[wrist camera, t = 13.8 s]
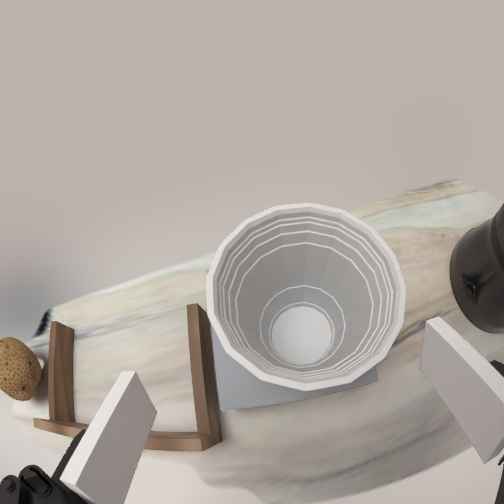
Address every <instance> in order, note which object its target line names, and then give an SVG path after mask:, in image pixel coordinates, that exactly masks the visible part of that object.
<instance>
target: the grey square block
mask: <svg viewBox="0 0 504 504" xmlns="http://www.w3.org/2000/svg"><path fill="white" fill-rule="evenodd" d="M208 272H209V270H207V274H208ZM211 331H212V342H213V352H214V361H215V371H216V380H217V388H218V397H219V405H220V411H222V410H233V409H243V408H252V407H260V406H267V405H274V404H280V403H286V402H292V401H298V400H303V399H308V398H313V397H318V396H322V395H327V394H331V393H335V392H339V391H343V390H347V389H351V388H355V387H358V386H362V385H366V384H369V383H372V382H376V381H378V378H377V373H376V369H375V365H374V366H373V367H372V368H370V369H369V370H368V371H366V372H365V373H363V374H362V375H361V376H359V377H358V378H356V379H355V380H353V381H352V382H351V383H347V384H342V385H337V386H332V387H327V388H321V389H316V390H310V391H303V390H298V389H294V388H290V387H286V386H282V385H278V384H274V383H270V382H266V381H263V380H260V379H259V378H258V377H256V376H255V375H254V374H252V373H251V372H250V371H249V370H247V369H246V368H245V367H244V366H242V365H241V364H240V363H239V362H237V361H236V360H235V359H234V358H232V357H231V356H230V355H229V354H228V353H226V351H225V349H224V348H223V346H222V344H221V342H220V340H219V338H218V336H217V334H216V332H215V330H214V328H213V326H212V324H211Z"/></svg>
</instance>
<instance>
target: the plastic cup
mask: <svg viewBox="0 0 504 504" xmlns="http://www.w3.org/2000/svg"><path fill="white" fill-rule="evenodd" d="M206 290H207V316H208V318H209V320H210V322H211V324H212V326H213V328H214V330H215V332H216V334H217V336H218V338H219V340H220V342H221V344H222V346H223V348H224V349H225V351H226V353H228V354H229V355H230V356H231V357H232V358H234V359H235V360H236V361H237V362H239V363H240V364H241V365H242V366H244V367H245V368H246V369H247V370H249V371H250V372H251V373H252V374H254V375H255V376H256V377H258V378H259V379H260V380H263V381H266V382H270V383H274V384H278V385H282V386H286V387H290V388H294V389H298V390H303V391H310V390H316V389H321V388H327V387H332V386H337V385H342V384H347V383H351V382H352V381H353V380H355V379H356V378H358V377H359V376H361V375H362V374H363V373H365V372H366V371H368V370H369V369H370V368H372V367H373V366H374V365H376V364H377V363H378V362H380V361H381V360H382V359H384V358H385V356H386V355H387V353H388V351H389V349H390V348H391V346H392V344H393V342H394V340H395V339H396V337H397V335H398V333H399V331H400V329H401V327H402V325H403V322H404V311H405V297H406V285H405V282H404V279H403V276H402V273H401V270H400V267H399V264H398V262H397V259H396V256H395V254H394V252H393V251H392V250H391V249H390V247H389V246H388V245H387V244H386V243H385V241H384V240H383V239H382V238H381V237H380V235H379V234H378V233H377V232H376V231H375V230H374V228H373V227H371V226H369V225H368V224H366V223H364V222H363V221H361V220H359V219H358V218H356V217H354V216H353V215H351V214H349V213H348V212H346V211H344V210H341V209H337V208H332V207H328V206H323V205H319V204H314V203H299V204H289V205H280V206H274V207H272V208H270V209H267V210H265V211H263V212H261V213H259V214H257V215H254V216H252V217H250V218H248V219H245V220H244V221H243V222H242V223H241V224H240V225H239V226H238V227H237V228H236V229H235V230H234V231H233V232H232V233H231V234H230V235H229V236H228V237H227V238H226V239H225V240H224V241H223V242H222V243H221V244H220V245H219V248H218V250H217V252H216V255H215V257H214V260H213V262H212V264H211V267H210V269H209V272H208V274H207V276H206Z"/></svg>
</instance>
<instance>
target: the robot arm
mask: <svg viewBox="0 0 504 504" xmlns="http://www.w3.org/2000/svg"><path fill="white" fill-rule="evenodd" d="M450 278H451V284H452V288H453V291H454V294H455V297H456V300H457V302H458V304H459V306H460V307H461V309H462V311H463V312H464V314H465V315H466V316H467V318H468V319H469V320H470V321H471V322H472V323H473V324H474V325H476V326H477V327H479V328H480V329H482V330H484V331H487V332H491V333H499V332H503V331H504V204H503V205H502V206H501V208H500V209H499V211H498V212H497V213H496V215H495V216H494V217H493V218H492V219H490V220H488V221H486V222H484V223H483V224H481V225H479V226H477V227H475V228H473V229H471V230H469V231H468V232H467V233H466V234H465V235H464V236H463V237H462V238H461V240H460V241H459V242H458V243H457V245H456V246H455V248H454V250H453V253H452V256H451V261H450ZM420 369H421V371H422V372H423V373H424V375H425V376H426V377H427V379H428V380H429V381H430V383H431V384H432V386H433V387H434V388H435V390H436V391H437V393H438V394H439V395H440V397H441V398H442V400H443V401H444V402H445V404H446V405H447V407H448V408H449V410H450V411H451V413H452V414H453V416H454V417H455V418H456V420H457V421H458V423H459V424H460V426H461V427H462V429H463V431H464V432H465V434H466V435H467V437H468V438H469V440H470V441H471V443H472V444H473V446H474V448H475V449H476V451H477V452H478V454H479V456H480V457H481V459H482V461H483V462H484V464H485V463H486V462H488V461H490V460H491V459H492V458H494V457H495V456H497V455H498V454H499V453H500V452H501V450H502V449H503V448H504V364H502V363H500V362H498V361H496V360H493V361H492V362H490V363H489V362H488V361H487V360H486V359H485V358H484V357H483V356H482V355H481V354H480V353H479V352H478V351H476V350H475V349H474V348H473V347H472V346H471V345H470V344H469V343H468V342H467V341H466V340H465V339H464V338H463V337H462V336H460V335H459V334H458V333H457V332H456V331H455V330H454V329H453V328H452V327H451V326H449V325H448V324H447V323H446V322H445V321H444V320H443V319H442V318H440V317H439V316H438V317H436V318H433V319H430V320H427V321H426V324H425V334H424V342H423V349H422V356H421V362H420ZM156 414H157V411H156V409H155V407H154V406H153V404H152V402H151V400H150V398H149V396H148V395H147V393H146V391H145V389H144V387H143V385H142V383H141V381H140V379H139V377H138V375H137V373H136V371H122V373H121V374H120V376H119V377H118V379H117V381H116V382H115V384H114V385H113V387H112V389H111V390H110V392H109V394H108V395H107V397H106V398H105V400H104V402H103V403H102V405H101V407H100V408H99V410H98V412H97V413H96V415H95V417H94V418H93V420H92V422H91V424H90V425H89V427H88V429H87V430H85V429H83V430H82V431H81V432H79V433H78V434H77V435H76V436H75V437H74V439H73V441H72V442H71V444H70V447H68V449H67V451H66V454H64V456H63V458H62V460H61V461H60V463H59V465H58V467H57V468H56V470H55V472H54V474H53V476H52V477H51V478H50V477H49V476H48V475H47V474H46V473H45V472H44V471H43V470H42V469H41V468H40V467H39V466H36V465H29V466H27V467H25V468H24V469H22V471H21V472H20V474H19V476H18V478H17V477H16V476H14V475H8V476H6V477H5V478H4V479H3V480H2V481H1V484H0V504H124V501H125V499H126V496H127V493H128V490H129V487H130V484H131V481H132V479H133V476H134V473H135V470H136V468H137V465H138V462H139V459H140V457H141V454H142V451H143V449H144V446H145V443H146V441H147V438H148V435H149V433H150V430H151V427H152V425H153V422H154V420H155V417H156ZM503 461H504V455H503V457H502V458H501V460H500V461H499V463H498V465H501V463H502V462H503ZM503 465H504V464H503ZM495 504H504V467H503V472H502V477H501V481H500V486H499V489H498V493H497V497H496V501H495Z"/></svg>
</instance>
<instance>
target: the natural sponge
mask: <svg viewBox="0 0 504 504" xmlns="http://www.w3.org/2000/svg"><path fill="white" fill-rule="evenodd" d="M41 375H42V371H41V366H40V363H39V361H38V359H37V357H36V356H35V355H34V353H33V352H32V351H31V350H30V349H29V348H28V347H27V346H26V345H25V344H24V343H22V342H21V341H19V340H17V339H15V338H12V337H6V338H3V339H1V340H0V389H1V390H2V391H4V392H5V393H6V394H7V395H9V396H10V397H12V398H13V399H16V400H20V401H26V400H30V399H31V397H32V396H33V394H34V392H35V389H36V386H37V385H38V383H39V381H40V379H41Z"/></svg>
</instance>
